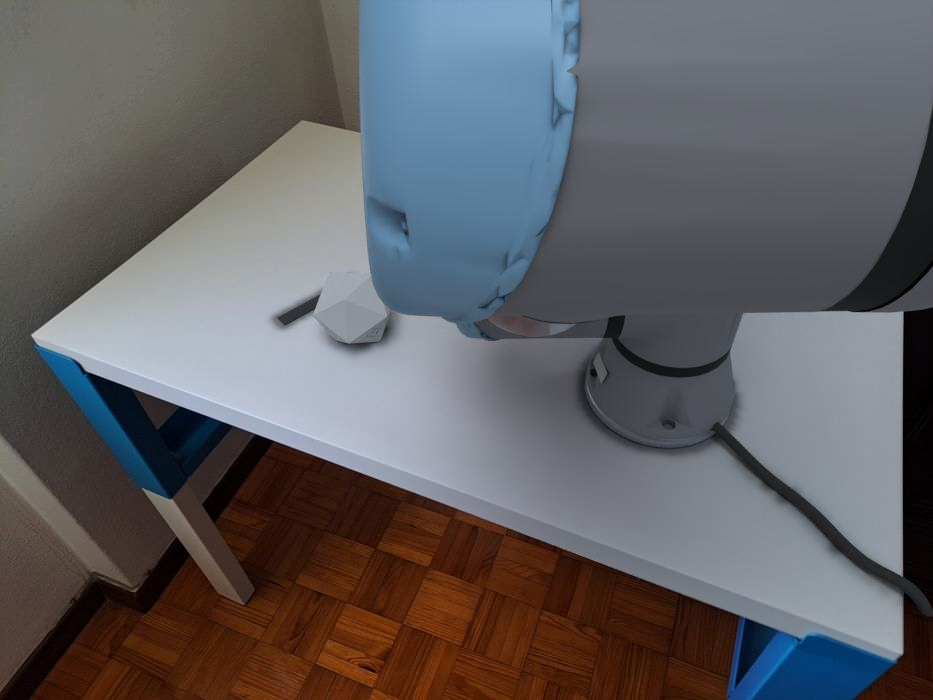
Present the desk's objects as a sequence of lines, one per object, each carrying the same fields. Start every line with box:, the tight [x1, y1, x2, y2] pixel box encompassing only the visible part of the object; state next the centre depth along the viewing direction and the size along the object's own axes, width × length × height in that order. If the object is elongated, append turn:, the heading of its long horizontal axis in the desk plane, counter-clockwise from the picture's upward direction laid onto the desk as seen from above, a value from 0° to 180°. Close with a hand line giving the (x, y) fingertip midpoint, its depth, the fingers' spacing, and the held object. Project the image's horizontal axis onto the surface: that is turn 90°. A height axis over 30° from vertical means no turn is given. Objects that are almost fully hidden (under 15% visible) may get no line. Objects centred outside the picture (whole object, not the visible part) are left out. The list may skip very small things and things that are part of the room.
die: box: [312, 271, 393, 344], centre depth 79 cm, size 8×9×10 cm
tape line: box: [277, 293, 321, 326], centre depth 86 cm, size 2×11×1 cm, turn 131°
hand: (531, 82), depth 68 cm, fingers closed
